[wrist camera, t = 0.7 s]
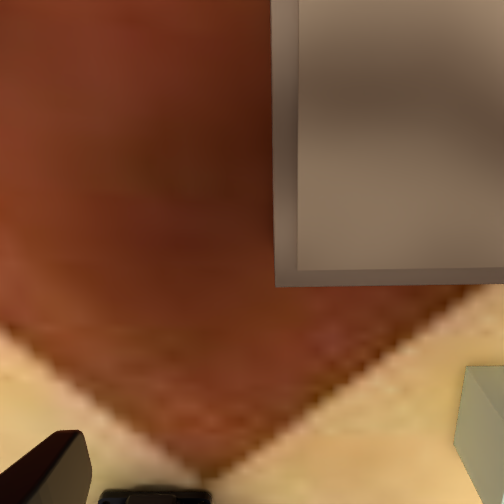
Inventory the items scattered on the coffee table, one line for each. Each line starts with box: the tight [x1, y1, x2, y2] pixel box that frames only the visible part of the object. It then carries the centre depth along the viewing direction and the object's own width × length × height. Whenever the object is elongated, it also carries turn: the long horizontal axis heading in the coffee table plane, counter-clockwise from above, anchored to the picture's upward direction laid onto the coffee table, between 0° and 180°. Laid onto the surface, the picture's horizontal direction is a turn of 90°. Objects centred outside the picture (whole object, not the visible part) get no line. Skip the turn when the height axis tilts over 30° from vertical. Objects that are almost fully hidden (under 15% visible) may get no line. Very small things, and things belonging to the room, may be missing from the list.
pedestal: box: [270, 0, 504, 287], centre depth 17 cm, size 12×12×4 cm
